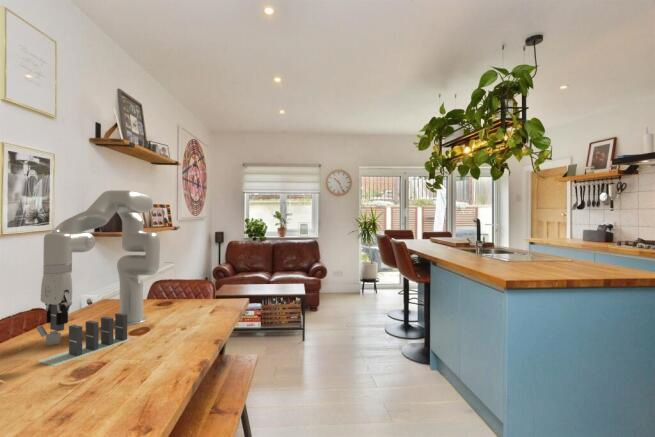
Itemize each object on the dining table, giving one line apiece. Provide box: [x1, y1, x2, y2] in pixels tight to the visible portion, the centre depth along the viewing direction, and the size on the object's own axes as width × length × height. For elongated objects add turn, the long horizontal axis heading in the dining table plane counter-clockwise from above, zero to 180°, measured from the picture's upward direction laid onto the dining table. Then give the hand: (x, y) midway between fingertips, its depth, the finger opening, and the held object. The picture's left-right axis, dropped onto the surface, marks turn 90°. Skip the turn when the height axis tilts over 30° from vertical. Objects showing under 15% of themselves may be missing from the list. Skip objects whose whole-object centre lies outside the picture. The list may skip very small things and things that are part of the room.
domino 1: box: [49, 301, 65, 332], centre depth 112 cm, size 2×5×10 cm, turn 66°
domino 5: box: [114, 312, 128, 341], centre depth 132 cm, size 2×5×10 cm, turn 66°
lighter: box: [36, 324, 62, 346], centre depth 127 cm, size 7×2×8 cm, turn 114°
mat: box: [37, 335, 132, 367], centre depth 122 cm, size 10×27×1 cm, turn 156°
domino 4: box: [100, 316, 115, 345], centre depth 127 cm, size 2×5×10 cm, turn 66°
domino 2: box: [68, 324, 83, 356], centre depth 117 cm, size 2×5×10 cm, turn 66°
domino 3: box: [85, 320, 100, 351], centre depth 122 cm, size 2×5×10 cm, turn 66°
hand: (57, 322), depth 112 cm, fingers closed on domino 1, 4 cm apart
